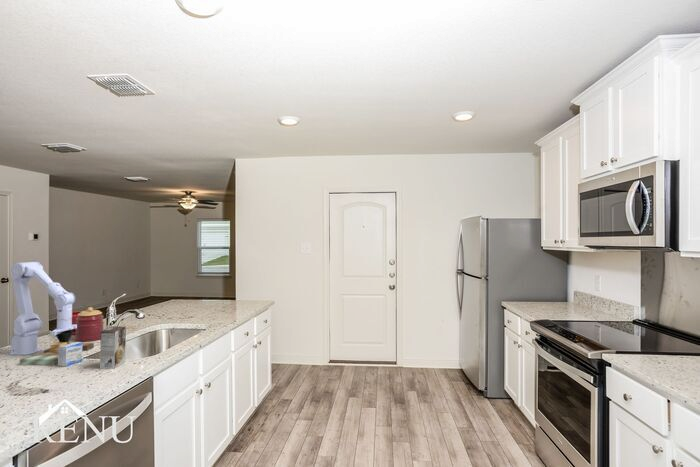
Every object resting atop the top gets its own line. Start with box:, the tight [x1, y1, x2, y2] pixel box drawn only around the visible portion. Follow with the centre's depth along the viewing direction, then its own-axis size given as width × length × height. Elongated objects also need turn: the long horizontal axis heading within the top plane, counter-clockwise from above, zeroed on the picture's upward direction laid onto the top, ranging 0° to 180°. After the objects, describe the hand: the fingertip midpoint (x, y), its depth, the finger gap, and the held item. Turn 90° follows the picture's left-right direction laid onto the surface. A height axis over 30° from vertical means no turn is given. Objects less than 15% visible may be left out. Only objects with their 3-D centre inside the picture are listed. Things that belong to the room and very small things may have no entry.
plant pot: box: [70, 310, 83, 336], centre depth 218 cm, size 13×13×12 cm
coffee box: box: [99, 325, 127, 370], centre depth 163 cm, size 9×6×16 cm
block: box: [49, 341, 67, 352], centre depth 175 cm, size 4×4×4 cm
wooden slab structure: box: [19, 342, 95, 366], centre depth 176 cm, size 15×26×2 cm, turn 1°
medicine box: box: [57, 341, 83, 367], centre depth 165 cm, size 8×4×9 cm, turn 168°
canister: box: [74, 306, 105, 343], centre depth 206 cm, size 13×13×18 cm
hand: (63, 346), depth 178 cm, fingers closed
